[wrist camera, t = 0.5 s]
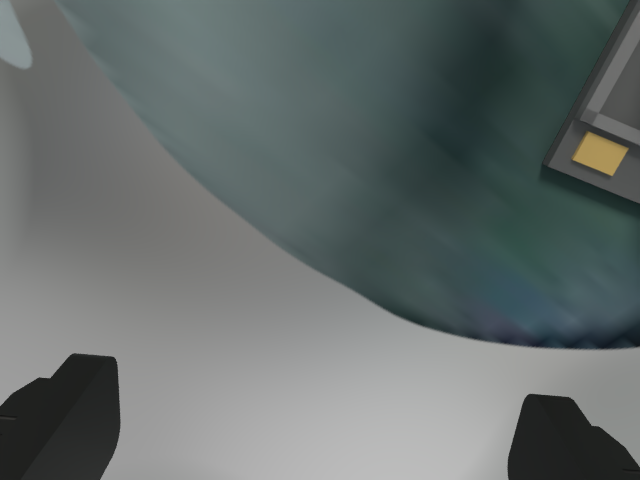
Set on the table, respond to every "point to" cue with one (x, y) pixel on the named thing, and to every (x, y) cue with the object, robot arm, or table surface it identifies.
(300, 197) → the table surface
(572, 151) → the switch box
